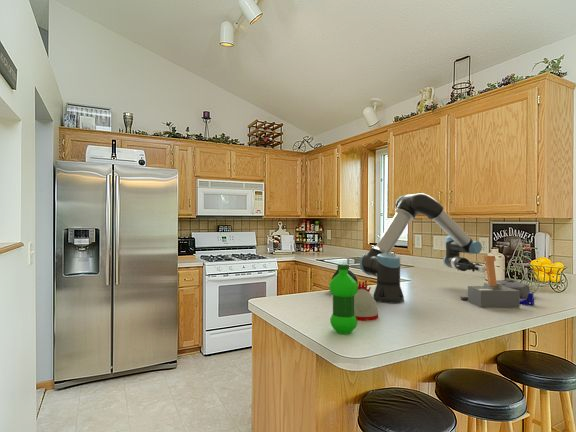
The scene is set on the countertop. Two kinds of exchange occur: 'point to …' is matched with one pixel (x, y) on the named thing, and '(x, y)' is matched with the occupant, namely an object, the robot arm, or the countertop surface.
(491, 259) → the breaker lever
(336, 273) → the squash
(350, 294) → the plastic bottle
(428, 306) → the countertop surface
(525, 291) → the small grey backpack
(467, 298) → the cord bundle
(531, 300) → the cable clip
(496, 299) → the block
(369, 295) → the grey dome with crown
